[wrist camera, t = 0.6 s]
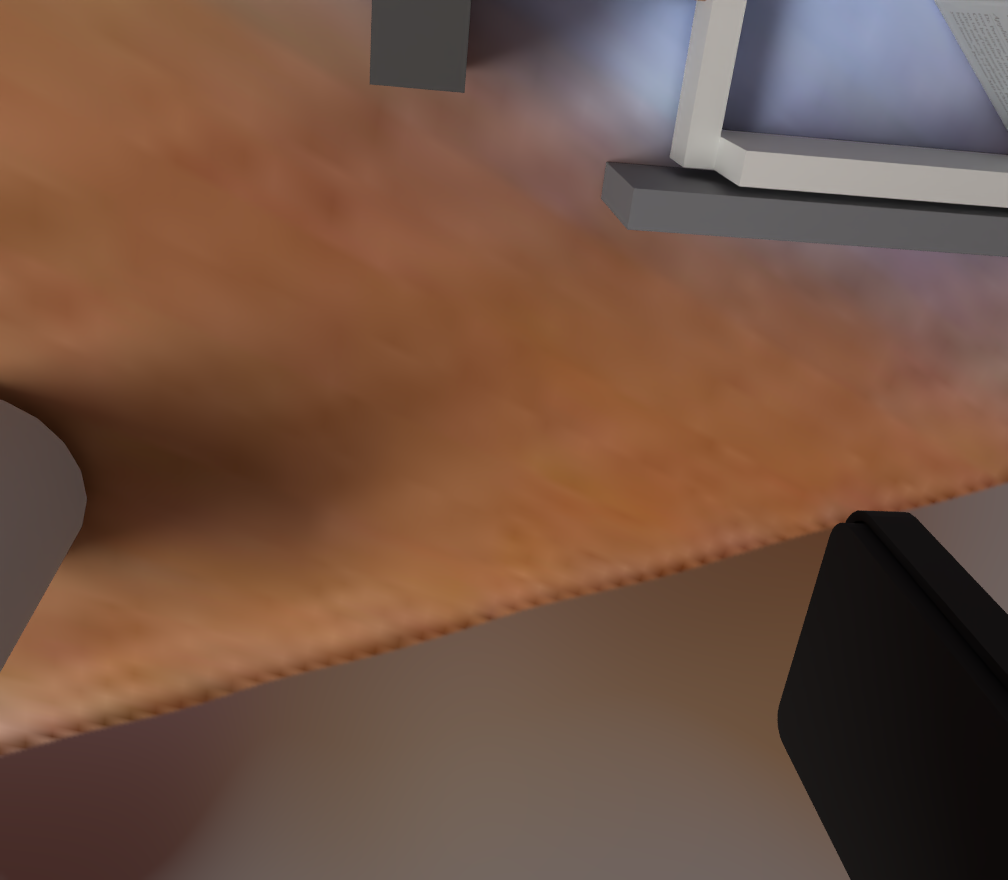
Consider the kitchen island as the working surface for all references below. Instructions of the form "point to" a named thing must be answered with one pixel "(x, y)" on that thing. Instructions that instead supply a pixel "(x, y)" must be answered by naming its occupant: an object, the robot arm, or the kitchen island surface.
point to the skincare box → (983, 43)
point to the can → (32, 516)
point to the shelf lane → (795, 213)
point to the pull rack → (705, 113)
